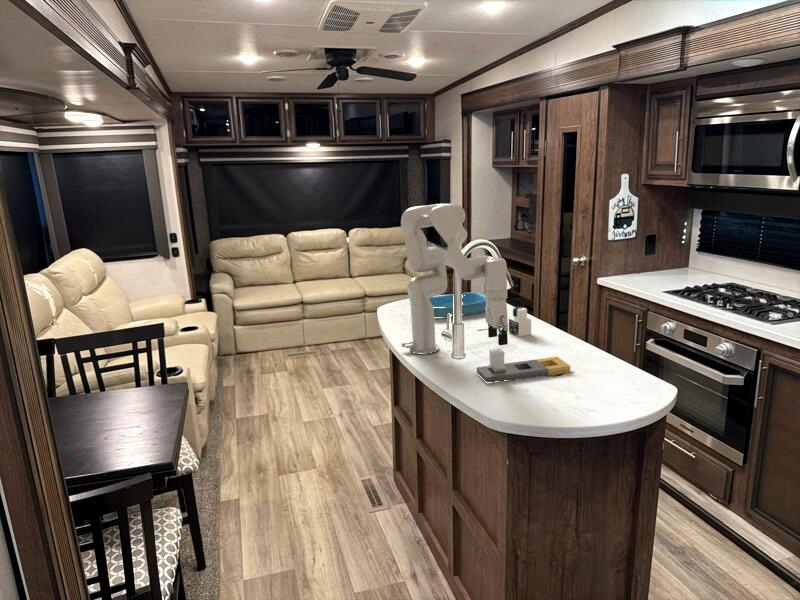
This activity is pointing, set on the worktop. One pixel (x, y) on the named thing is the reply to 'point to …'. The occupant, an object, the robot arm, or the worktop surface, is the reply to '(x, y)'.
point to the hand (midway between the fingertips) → (497, 340)
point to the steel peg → (496, 360)
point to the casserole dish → (470, 305)
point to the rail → (526, 369)
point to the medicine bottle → (520, 322)
